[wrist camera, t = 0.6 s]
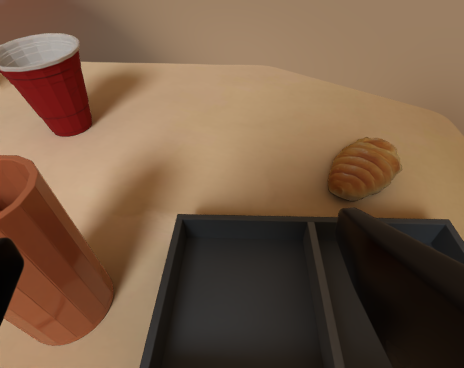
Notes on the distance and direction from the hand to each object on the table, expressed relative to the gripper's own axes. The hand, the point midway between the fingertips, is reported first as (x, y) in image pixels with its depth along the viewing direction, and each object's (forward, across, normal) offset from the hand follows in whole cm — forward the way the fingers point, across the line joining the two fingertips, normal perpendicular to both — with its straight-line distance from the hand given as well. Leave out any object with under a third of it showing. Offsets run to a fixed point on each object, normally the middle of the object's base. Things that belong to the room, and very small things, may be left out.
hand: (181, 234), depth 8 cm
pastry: (+22, -18, +12) cm, 31 cm away
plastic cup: (+38, +21, +9) cm, 44 cm away
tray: (+7, -8, +15) cm, 19 cm away
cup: (+10, +12, +15) cm, 21 cm away
